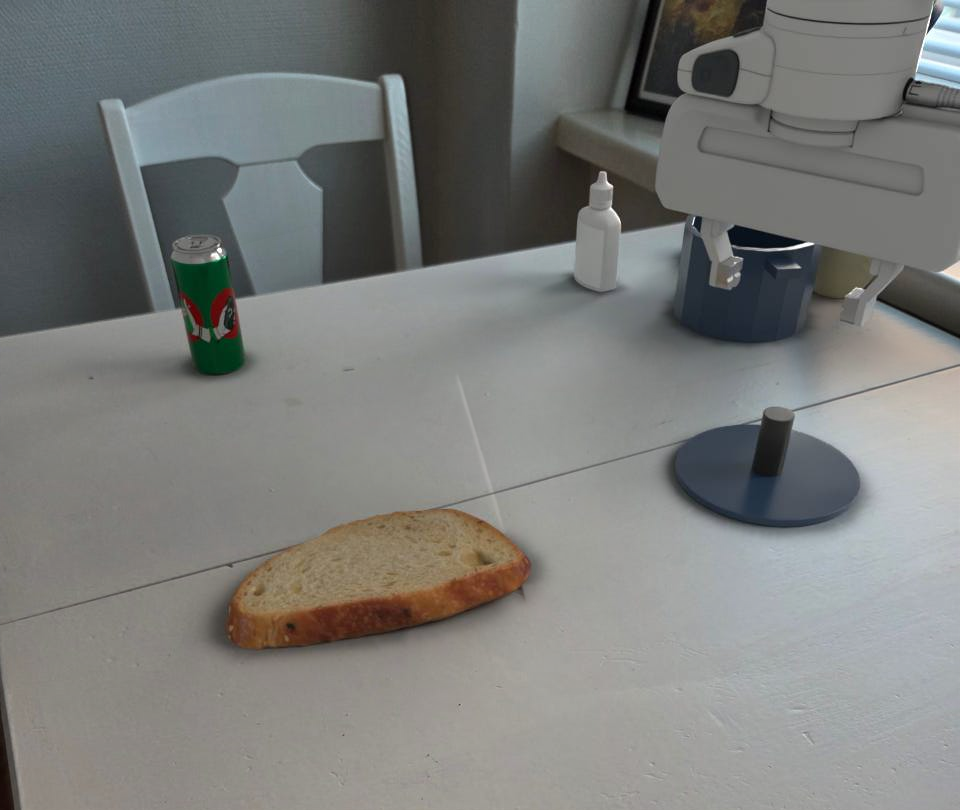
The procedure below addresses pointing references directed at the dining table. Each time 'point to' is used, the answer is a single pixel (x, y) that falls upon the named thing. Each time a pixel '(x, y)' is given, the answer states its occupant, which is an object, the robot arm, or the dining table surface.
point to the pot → (746, 286)
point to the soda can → (208, 304)
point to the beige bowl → (841, 272)
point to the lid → (767, 473)
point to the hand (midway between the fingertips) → (786, 303)
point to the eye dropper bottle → (598, 239)
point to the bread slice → (375, 579)
